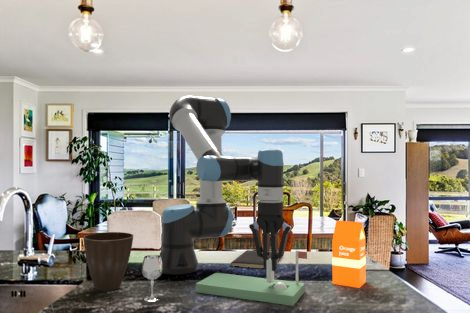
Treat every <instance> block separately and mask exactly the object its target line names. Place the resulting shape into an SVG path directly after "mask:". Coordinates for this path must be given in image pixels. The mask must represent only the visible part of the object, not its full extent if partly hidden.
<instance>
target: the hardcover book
mask: <svg viewBox="0 0 470 313" xmlns="http://www.w3.org/2000/svg"><path fill="white" fill-rule="evenodd" d="M269 256H270V257H269V258H271V251H269ZM278 261H280V259H277V262H278ZM235 266H239V268H248V267H249V268H250V269H262V268H263V258H262V257H258V256H257V251H256V250H251V249H250V250H249V249H248V250H247V249H246V250H245V251H243V253H241V254H240V255H239V256H237V257H236V258H234V259H233V260H232V261H231V262H230V267H235Z"/></svg>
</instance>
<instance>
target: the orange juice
mask: <svg viewBox="0 0 470 313" xmlns="http://www.w3.org/2000/svg"><path fill="white" fill-rule="evenodd" d="M365 233H366V232H365V229H364V225H363V222H362V221H349V220H336V221H335V226H334V230H333V237H332V240H331V241H332V246H331V247H332V251H331V252H332V257H331V258H332V259H331V260H332V261H331V264H332V265H331V266H332V267H331V268H332V270H331V271H332V285H340V286H345V287H351V288H358V289H360V288H361V287H362V286H363V285H364V284H366V283H367V281H366V280H367V275H366V271H367V270H366V268H367V267H366V266H367V265H366V264H367V261H366V260H367V256H366V253H367V251H366V234H365Z"/></svg>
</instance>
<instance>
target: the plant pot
mask: <svg viewBox="0 0 470 313" xmlns="http://www.w3.org/2000/svg"><path fill="white" fill-rule="evenodd" d="M133 241H134V234H133V233H130V232H122V231H121V232H119V231H117V232H116V231H107V232H95V233H89V234H86V235H84V236H83V245H84V254H85V259H86V263H87V267H88V272H89V275H90V278H91V280H92V284H93V287H94V288H95V290H97V291H100V292H101V291H102V292H103V291H104V292H106V291H107V292H108V291H115V290H117V289H119V288H120V287H121V285H122V283H123V279H124V278H125V275H126V272H127V271H126V270H127V267H128V264H129V261H130V257H131V252H132V247H133Z"/></svg>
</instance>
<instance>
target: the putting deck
mask: <svg viewBox="0 0 470 313" xmlns="http://www.w3.org/2000/svg"><path fill="white" fill-rule="evenodd" d="M299 259H303V260H304V259H306V260H307V259H308V252H307V251H299V250H298V249H297V250H295V281H290V280H284V279H283V280H282V279H275V278H274V281H273V282H272V283H268V282H266V278H264V277H255V276H249V275H248V276H247V275H237V274H230V273H222V272H215V273H213V274H211V275H208V276H207V277H205V278H203V279H202V280H200V281H198V282H196V283H195V293H201V294H207V295H215V296H220V297H227V298H228V297H229V298H236V299H242V300H243V299H244V300H248V301H249V300H250V301H257V302H264V303H270V304H271V303H272V304H279V305H286V306H294V305H296V303H297V302H298V301H299V300H300V298H301V297H302V296H303V294H304V293H305V292H306V282H300V281H299ZM278 282H282V283H284V284H285V285H286V287H287V289H286V290H279V289H273V287H274V285H275V284H276V283H278Z"/></svg>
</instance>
